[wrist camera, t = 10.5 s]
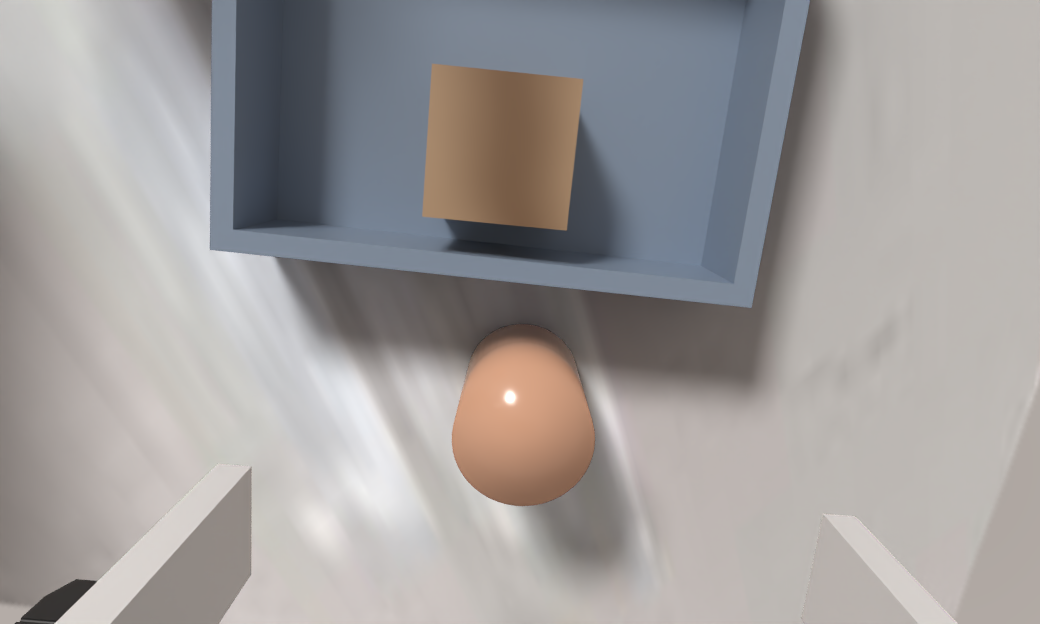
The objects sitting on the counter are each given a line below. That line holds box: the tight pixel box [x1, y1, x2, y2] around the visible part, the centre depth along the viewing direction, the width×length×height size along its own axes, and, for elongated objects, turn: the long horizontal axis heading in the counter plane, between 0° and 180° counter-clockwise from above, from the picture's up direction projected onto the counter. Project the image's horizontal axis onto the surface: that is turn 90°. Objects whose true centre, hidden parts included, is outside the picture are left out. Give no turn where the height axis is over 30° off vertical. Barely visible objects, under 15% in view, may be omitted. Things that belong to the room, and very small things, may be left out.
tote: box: [210, 0, 810, 308], centre depth 25 cm, size 20×16×5 cm
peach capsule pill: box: [452, 324, 595, 506], centre depth 27 cm, size 5×5×7 cm
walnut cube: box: [422, 64, 583, 231], centre depth 25 cm, size 5×5×5 cm
